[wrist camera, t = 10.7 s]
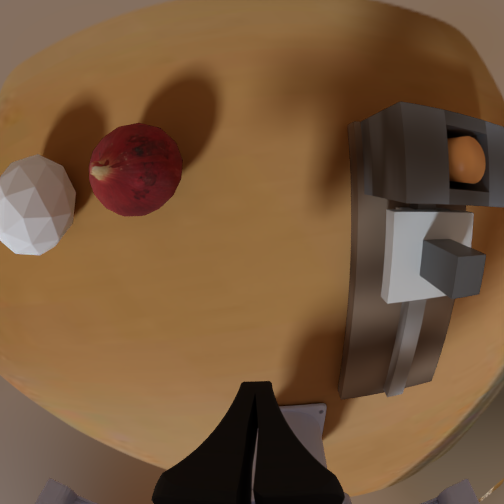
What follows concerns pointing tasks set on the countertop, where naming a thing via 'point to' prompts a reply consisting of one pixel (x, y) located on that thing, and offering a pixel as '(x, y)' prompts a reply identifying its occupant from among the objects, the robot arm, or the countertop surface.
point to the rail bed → (374, 234)
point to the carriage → (430, 255)
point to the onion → (135, 169)
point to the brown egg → (465, 160)
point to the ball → (35, 205)
